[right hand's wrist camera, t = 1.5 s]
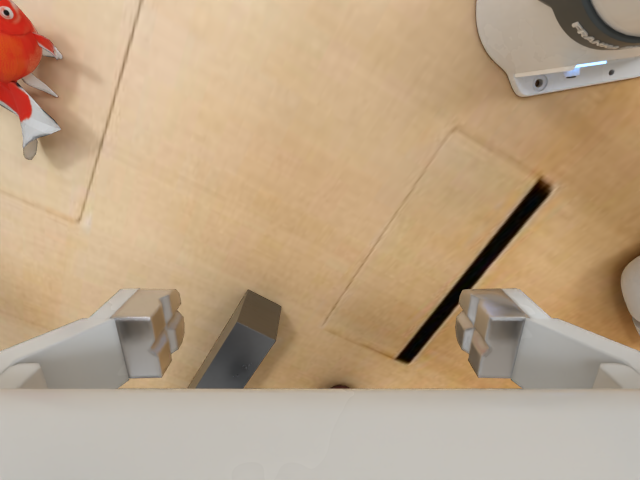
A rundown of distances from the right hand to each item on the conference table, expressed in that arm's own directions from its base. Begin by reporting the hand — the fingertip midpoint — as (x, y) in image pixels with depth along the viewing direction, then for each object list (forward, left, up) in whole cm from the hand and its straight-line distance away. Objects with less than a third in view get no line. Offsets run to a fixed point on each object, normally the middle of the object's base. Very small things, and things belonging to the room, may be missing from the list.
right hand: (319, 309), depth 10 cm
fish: (+30, -6, -35) cm, 47 cm away
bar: (+13, +31, -35) cm, 48 cm away
